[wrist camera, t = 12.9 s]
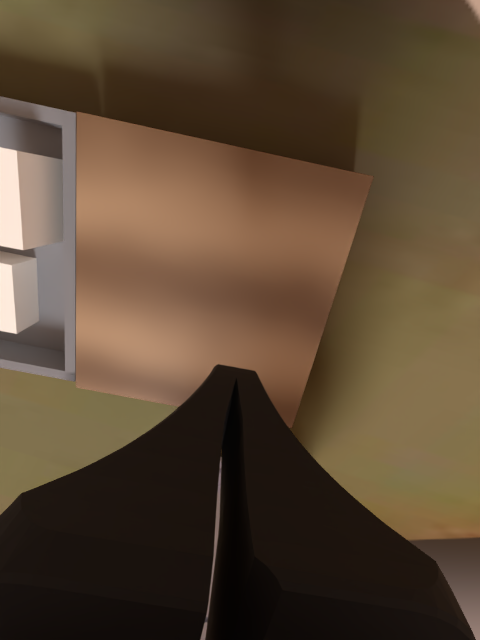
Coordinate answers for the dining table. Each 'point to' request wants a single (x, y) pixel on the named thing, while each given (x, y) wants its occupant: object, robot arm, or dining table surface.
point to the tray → (46, 246)
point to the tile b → (30, 199)
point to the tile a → (18, 292)
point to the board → (203, 261)
